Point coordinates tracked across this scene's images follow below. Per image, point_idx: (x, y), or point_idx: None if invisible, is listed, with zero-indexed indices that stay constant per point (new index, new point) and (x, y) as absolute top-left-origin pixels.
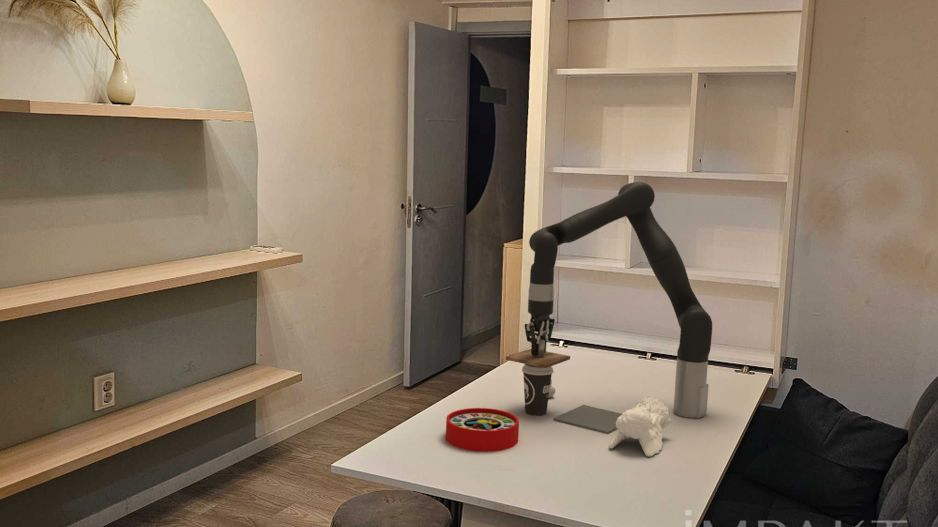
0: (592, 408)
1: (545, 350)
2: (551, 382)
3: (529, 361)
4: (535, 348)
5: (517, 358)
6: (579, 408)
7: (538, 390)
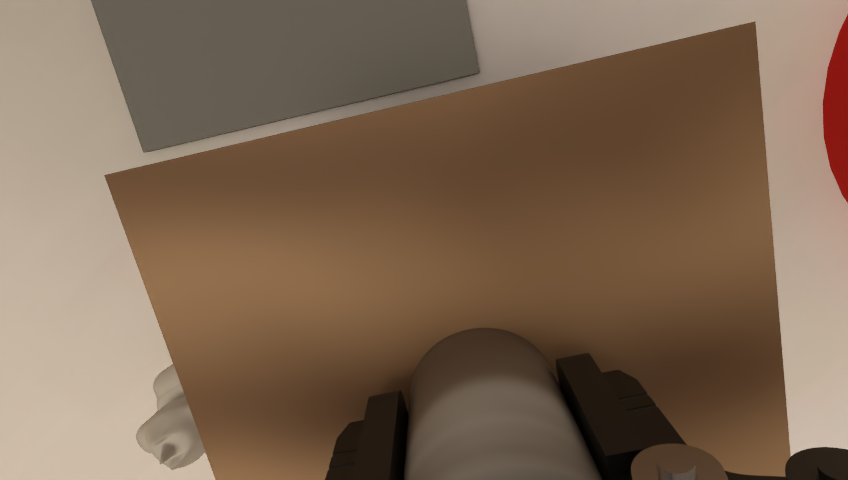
0: (144, 66)
1: (380, 406)
2: (163, 408)
3: (775, 283)
4: (656, 416)
5: (771, 458)
6: (214, 113)
7: None
